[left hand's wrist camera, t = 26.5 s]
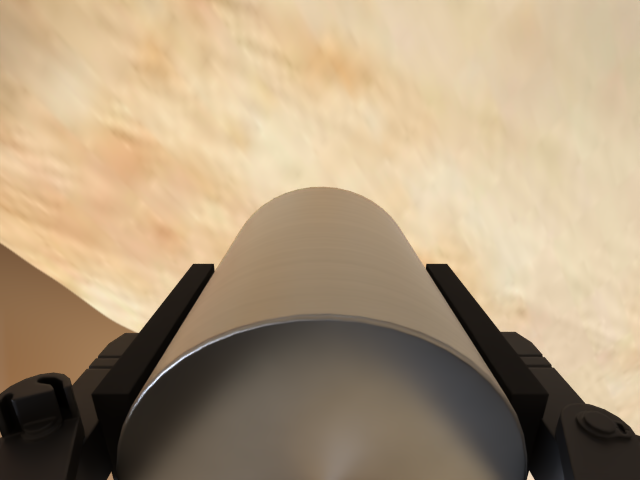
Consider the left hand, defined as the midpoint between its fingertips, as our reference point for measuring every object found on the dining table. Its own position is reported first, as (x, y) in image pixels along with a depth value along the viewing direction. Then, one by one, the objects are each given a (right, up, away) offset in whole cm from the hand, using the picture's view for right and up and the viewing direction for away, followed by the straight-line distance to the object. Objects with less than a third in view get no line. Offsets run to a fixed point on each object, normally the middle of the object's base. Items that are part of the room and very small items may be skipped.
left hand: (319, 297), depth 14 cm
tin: (0, +1, +2) cm, 2 cm away
